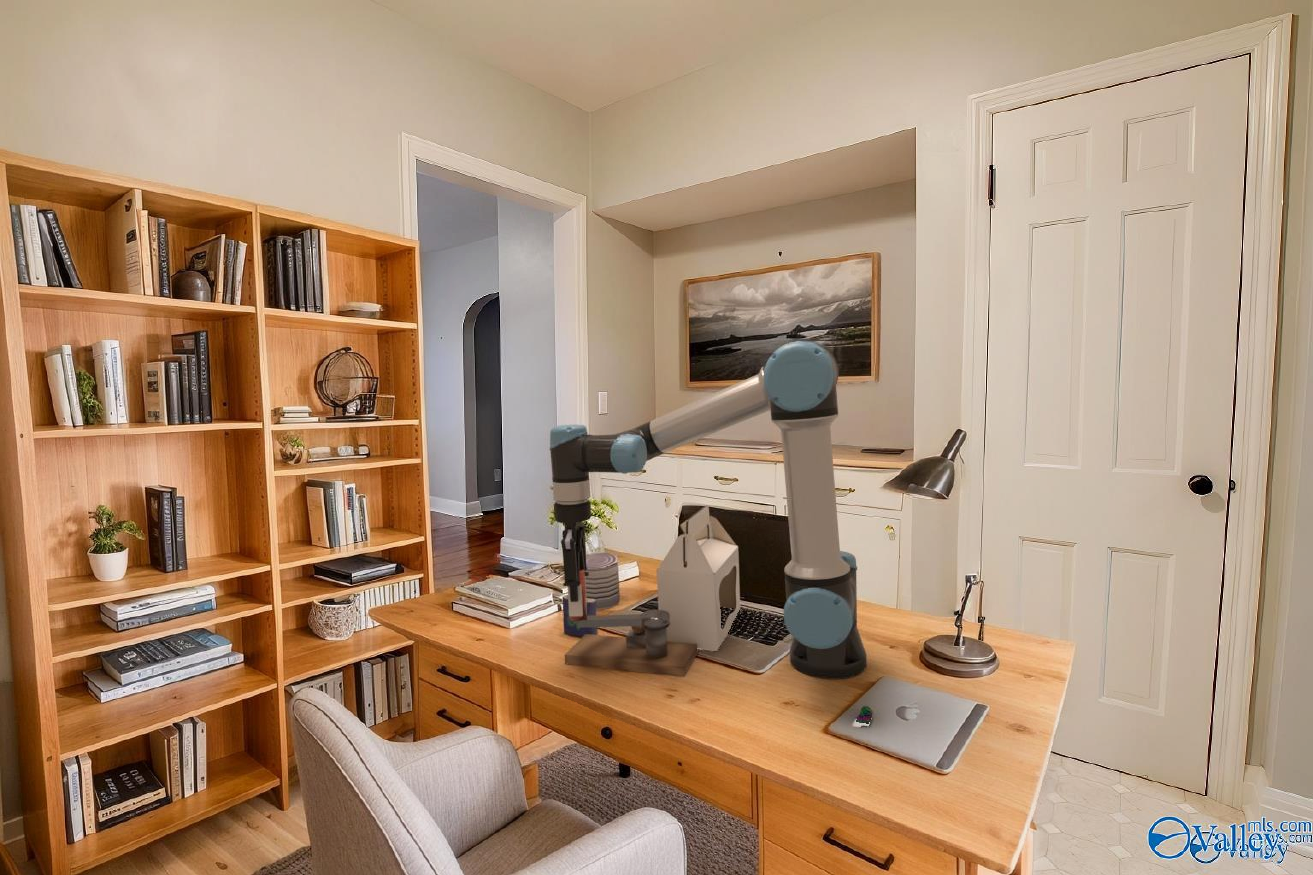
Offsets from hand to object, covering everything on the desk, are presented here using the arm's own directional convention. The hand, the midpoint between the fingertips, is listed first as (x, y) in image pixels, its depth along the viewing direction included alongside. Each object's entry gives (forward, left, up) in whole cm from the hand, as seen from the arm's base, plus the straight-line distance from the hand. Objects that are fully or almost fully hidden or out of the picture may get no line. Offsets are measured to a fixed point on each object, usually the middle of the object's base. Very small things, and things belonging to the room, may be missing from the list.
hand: (578, 611), depth 136 cm
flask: (+7, -14, -12) cm, 20 cm away
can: (+11, -35, -12) cm, 39 cm away
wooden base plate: (-9, -5, -12) cm, 16 cm away
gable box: (-20, -23, -12) cm, 33 cm away
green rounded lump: (-57, +9, -12) cm, 59 cm away
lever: (-8, -2, -3) cm, 9 cm away
